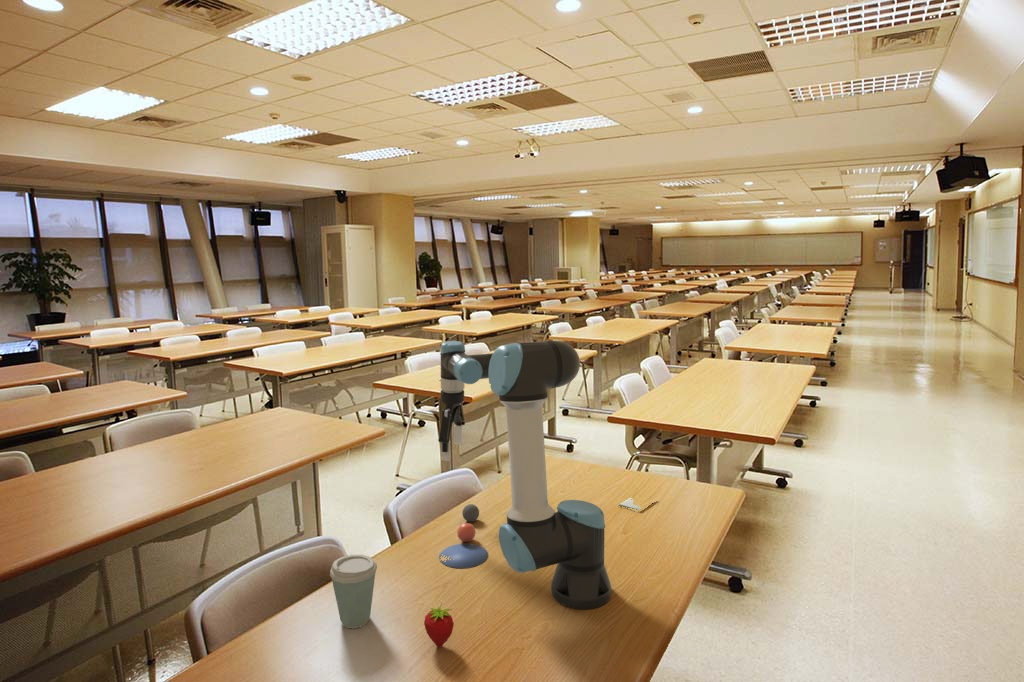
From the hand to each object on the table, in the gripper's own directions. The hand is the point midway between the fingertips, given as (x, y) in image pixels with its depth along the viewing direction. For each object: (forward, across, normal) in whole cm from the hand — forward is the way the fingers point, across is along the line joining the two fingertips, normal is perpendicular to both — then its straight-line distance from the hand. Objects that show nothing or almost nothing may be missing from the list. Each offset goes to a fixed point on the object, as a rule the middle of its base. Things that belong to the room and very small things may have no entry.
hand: (451, 452), depth 189 cm
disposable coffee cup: (+19, +59, -6) cm, 62 cm away
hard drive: (+22, -20, +62) cm, 68 cm away
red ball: (+18, +16, +10) cm, 26 cm away
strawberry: (+17, +65, +17) cm, 69 cm away
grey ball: (+20, +2, +7) cm, 21 cm away
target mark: (+20, +25, +11) cm, 34 cm away
